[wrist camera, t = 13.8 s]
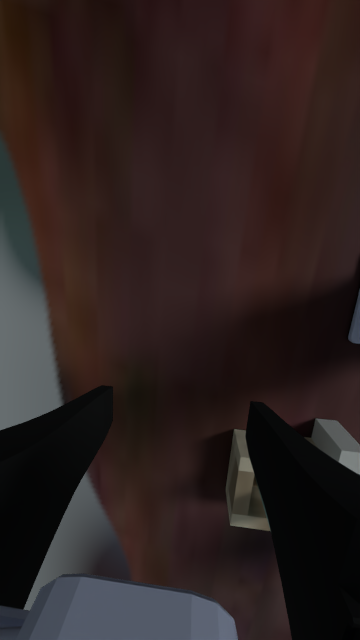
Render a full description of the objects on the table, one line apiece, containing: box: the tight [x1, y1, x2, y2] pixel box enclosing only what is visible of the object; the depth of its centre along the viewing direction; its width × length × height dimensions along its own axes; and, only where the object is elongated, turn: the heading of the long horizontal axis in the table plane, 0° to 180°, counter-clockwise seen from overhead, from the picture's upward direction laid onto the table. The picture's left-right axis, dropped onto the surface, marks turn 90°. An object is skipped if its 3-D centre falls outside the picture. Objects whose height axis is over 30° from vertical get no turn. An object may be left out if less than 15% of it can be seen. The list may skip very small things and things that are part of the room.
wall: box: [311, 419, 360, 475], centre depth 21 cm, size 2×12×4 cm, turn 176°
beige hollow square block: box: [226, 429, 318, 531], centre depth 21 cm, size 8×8×4 cm
